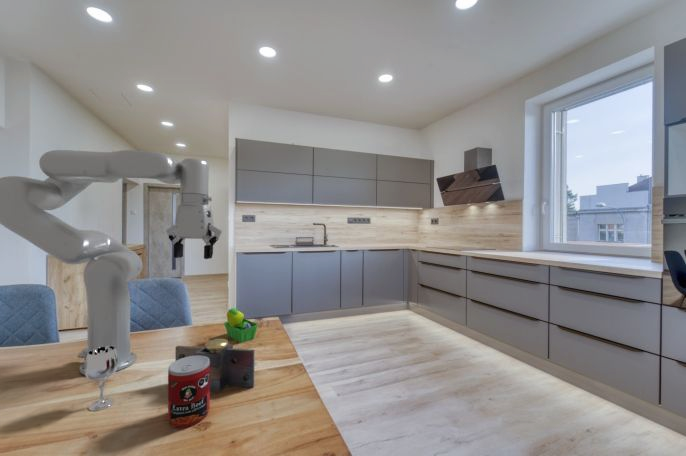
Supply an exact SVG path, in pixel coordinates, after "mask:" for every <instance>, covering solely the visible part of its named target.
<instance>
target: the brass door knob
mask: <svg viewBox="0 0 686 456" xmlns="http://www.w3.org/2000/svg"><path fill="white" fill-rule="evenodd" d="M228 344H229V340H228V339H226V338H214V339H211V340H208V341H206V342H205V345H204V346H205V349H206V350H208V351H210V352H215V353H219V352H220V351H221V350H222V349H224V348H226V347H227V346H228Z"/></svg>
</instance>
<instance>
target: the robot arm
mask: <svg viewBox="0 0 686 456" xmlns="http://www.w3.org/2000/svg"><path fill="white" fill-rule="evenodd" d="M38 162H39V164H38V165H39V168H40V170H41V171H42V173H43V174H45V175H46V176H47V178H45V179H44V180H41V179H36V178H30V177H26V176H18V175H17V176H15V175H13V176H12V175H11V176H3V177H0V225H1V226H3V227H4V228H5V229H8V230H9V231H11V232H13V233H14V234H16V235H18V236H19V237H21V238H23V239H24V240H26V241H28V242H29V243H31V244H32V245H34V246H35V247H37V248H38V249H40V250H42V251H43V252H45V253H47V254H48V255H50V256H51V257H53V258H55V259H57V260H58V261H60V262H61V263H64V264H66V265H80V264H85V266H84V269H83V272H82V273H83V276H82V277H83V283H84V287H85V292H86V299H87V301H86V303H87V304H86V306H87V307H86V309H87V310H86V312H87V347H84V348H83V349H82V350H81V352H79V353H78V354H77V358H78V359H84V360H83V363H82V364H81V365H80V367H79V372H80V373H81V374H82V375H84V376H85V371H84V368H85V362H86V358H87V355H88V352H89V351H91V350H93V349H96V348H100V347H105V346H113V347H115V349H116V352H117V356H118V367H117V370H116V371H115V372H118V371H121V370H123V369H125V368H127V367H129V366H131V365H133V364H134V363H135V362H136V361H137V354H136V353H135V352H133V351H131V296H130V291H129V285H128V282H129V281H132V280H135V279H136V278H137V277H138V276H140V274H141V273H142V271H143V267H144V265H143V260H142V258H141V257H140V256H139V255H138V254H137V253H136V252H135V251H133V250H132V249H130V248H129V247H127V246H125V245H124V244H122V242H121V243H120V242H119V241H117V240H116V239H115V238H113V237H111V236H110V235H108V234H106V233H104V232H101V231H98V230H92V229H91V230H89V229H87V230H86V229H85V230H82V229H79V228H76V227H74V226H71V225H70V224H68V223H67V222H65V221H63V220H62V219H60V218H59V217H57V216H55V215H54V214H52V213H49V212H48V211H53V210H57V209H59V208H61V207H63V206H64V205H66V204H67V203H68V202H70V201H71V200H72V199H74V198H75V197H76V196H78V195H79V194H81V192H83V191H85V190H86V189H87V188H88V187H90V186H91V184H93V183H103V184H104V183H108V184H109V183H111V184H112V183H117V182H118V181H119V180H122V179H151V180H157V181H159V182H161V183H165V184H167V185H177V184H179V186H180V187H179V188H180V189H179V190H180V191H179V192H180V194H179V204H178V205H177V209H176V215H175V222H174V223H175V224H174V225H172V226H171V227H168V228H167V229H166V230H165V232H166V234H167V236H168V239H169V240H170V242H171V244H172V245H173V257H174V258H175V259H178V258H183V257H184V244H183V242H184V240H186V239H191V240H193V239H195V240H196V239H197V240H198V239H200V240H202V241H203V242H204V247H203V258H204V260H209V259H212V258H213V255H214V245H215V244H216V243H217V242H218V240H219V239H220V236H221V235H222V230H221V229H220V228H217V227H216V226H215V225H214V219H213V217H214V216H213V212H212V206H210V205H209V203H211V202H212V201H213V200H212V197H211V196H209V180H210V179H209V176H210V175H209V172H210V171H209V170H210V168H209V163H208V162H207V161H206V160H204V159H200V158H194V157H191V158H189V157H188V158H187V157H186V158H184V159H182V160H180V161H179V160H177V159H175V158H172V157H171V156H170V155H168V154H166V153H164V152H161V151H153V150H141V149H140V150H139V149H138V150H137V149H122V150H114V151H89V150H88V151H86V150H74V149H73V150H71V149H70V150H69V149H53V150H49V151H46V152H44V153H43V154H42V155H41V157H40V158H39V161H38ZM86 263H87V264H86Z"/></svg>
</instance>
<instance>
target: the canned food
mask: <svg viewBox="0 0 686 456" xmlns="http://www.w3.org/2000/svg"><path fill="white" fill-rule="evenodd" d="M167 373H168V374H167V409H168V410H167V419H168V422H169V424H170V426H171V427H173V428H178V429H183V428H189V427H191V426H195V425H197V424H198V423H200V422H201V421H203V420H204V419H205V418H206V417H207V416H208V414H209V411H210V407H211V406H210V403H211V402H210V400H211V398H210V396H211V393H210V361H209V358H208V357H206V356H200V355H196V356H189V357H185V358H181V359H179V360H177V361H173V362H172V363H170V364H169V366H168V371H167Z"/></svg>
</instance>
